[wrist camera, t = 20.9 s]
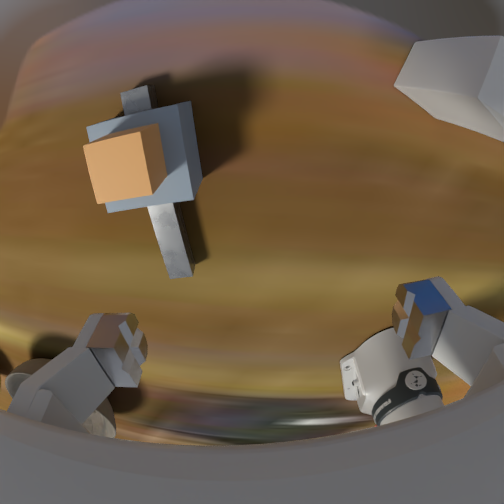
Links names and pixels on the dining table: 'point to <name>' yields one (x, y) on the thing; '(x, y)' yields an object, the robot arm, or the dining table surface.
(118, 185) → the block
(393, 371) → the robot arm
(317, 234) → the dining table surface
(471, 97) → the milk carton
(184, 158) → the pale blue storage bin
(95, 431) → the bowl
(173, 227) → the rod
